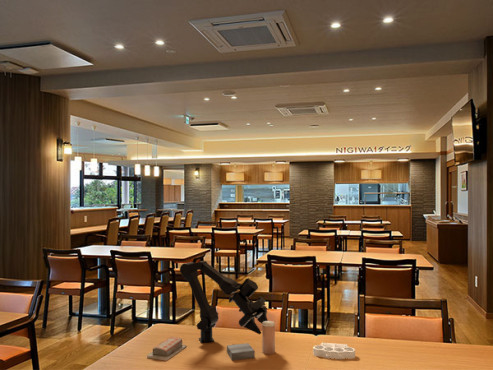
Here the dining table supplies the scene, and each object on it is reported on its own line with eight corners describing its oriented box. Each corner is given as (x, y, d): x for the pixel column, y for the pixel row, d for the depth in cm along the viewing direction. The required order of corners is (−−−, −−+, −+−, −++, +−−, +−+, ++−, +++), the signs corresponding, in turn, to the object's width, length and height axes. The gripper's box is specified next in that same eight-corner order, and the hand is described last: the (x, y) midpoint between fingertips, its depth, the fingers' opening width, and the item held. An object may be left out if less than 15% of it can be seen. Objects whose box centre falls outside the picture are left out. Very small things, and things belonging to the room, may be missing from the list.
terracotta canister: (260, 350, 196) (260, 321, 196) (272, 349, 197) (272, 320, 198) (264, 354, 190) (264, 324, 191) (276, 353, 192) (276, 323, 192)
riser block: (226, 352, 194) (226, 345, 194) (248, 349, 197) (248, 343, 197) (232, 360, 184) (231, 353, 184) (254, 357, 187) (254, 350, 187)
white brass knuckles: (354, 350, 196) (355, 362, 182) (314, 347, 200) (312, 359, 186) (354, 342, 196) (355, 354, 182) (314, 340, 200) (312, 351, 186)
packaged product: (167, 335, 205) (186, 337, 201) (167, 345, 205) (186, 347, 201) (146, 347, 188) (166, 350, 184) (146, 359, 188) (166, 362, 184)
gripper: (244, 296, 190) (267, 325, 184) (263, 288, 206) (285, 314, 200) (229, 312, 193) (251, 341, 188) (249, 303, 210) (270, 329, 204)
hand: (265, 330), depth 195 cm, fingers open, 9 cm apart
